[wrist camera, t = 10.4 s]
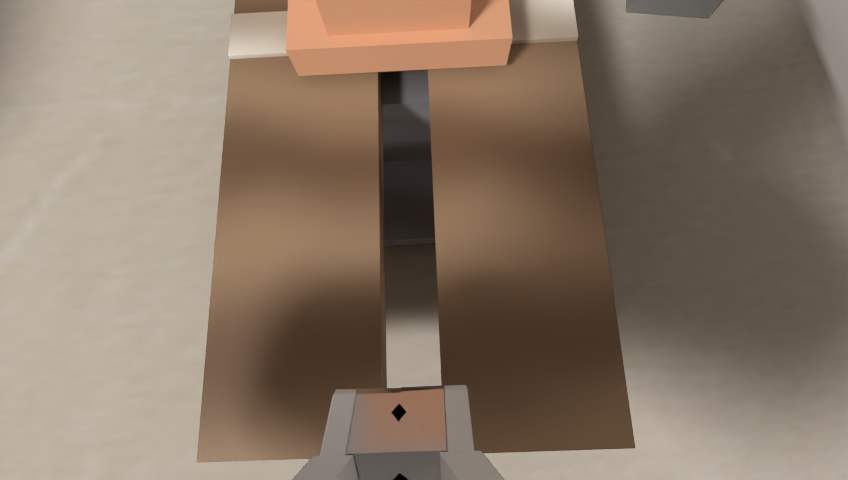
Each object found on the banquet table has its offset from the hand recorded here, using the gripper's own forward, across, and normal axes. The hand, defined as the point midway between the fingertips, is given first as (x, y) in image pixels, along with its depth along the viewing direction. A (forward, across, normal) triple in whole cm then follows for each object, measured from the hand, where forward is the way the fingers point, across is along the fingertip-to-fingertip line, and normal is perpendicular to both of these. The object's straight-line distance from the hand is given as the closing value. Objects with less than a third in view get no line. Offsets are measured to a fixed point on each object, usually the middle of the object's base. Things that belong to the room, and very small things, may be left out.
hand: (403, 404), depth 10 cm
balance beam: (+19, 0, -1) cm, 19 cm away
